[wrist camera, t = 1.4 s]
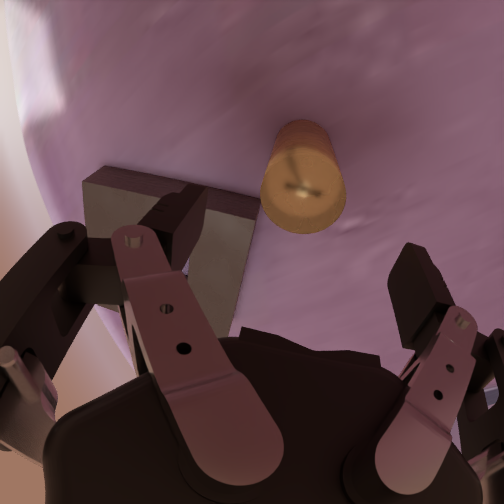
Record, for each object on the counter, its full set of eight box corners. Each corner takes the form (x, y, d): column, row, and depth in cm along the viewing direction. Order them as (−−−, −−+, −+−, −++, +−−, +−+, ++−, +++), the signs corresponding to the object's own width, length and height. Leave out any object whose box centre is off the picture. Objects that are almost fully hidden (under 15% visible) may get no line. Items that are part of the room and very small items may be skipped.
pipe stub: (282, 113, 21) (270, 145, 13) (337, 128, 21) (357, 169, 13) (269, 164, 23) (252, 222, 16) (321, 178, 23) (330, 242, 15)
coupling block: (104, 165, 25) (82, 181, 22) (261, 199, 25) (255, 220, 22) (112, 284, 33) (97, 305, 30) (232, 318, 33) (226, 344, 30)
